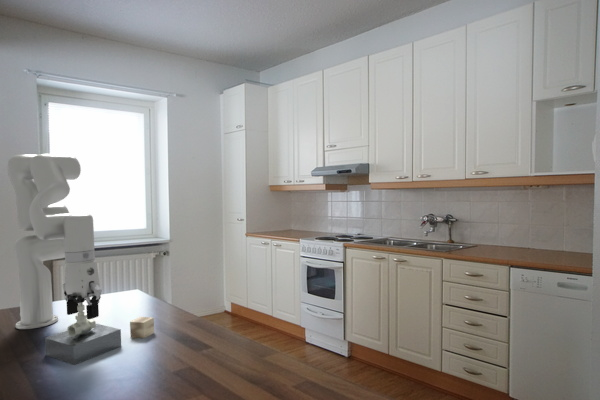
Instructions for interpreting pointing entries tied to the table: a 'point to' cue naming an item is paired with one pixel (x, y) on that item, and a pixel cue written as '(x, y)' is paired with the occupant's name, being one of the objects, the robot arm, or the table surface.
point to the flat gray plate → (83, 344)
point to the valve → (80, 318)
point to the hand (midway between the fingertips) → (82, 315)
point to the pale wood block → (142, 327)
